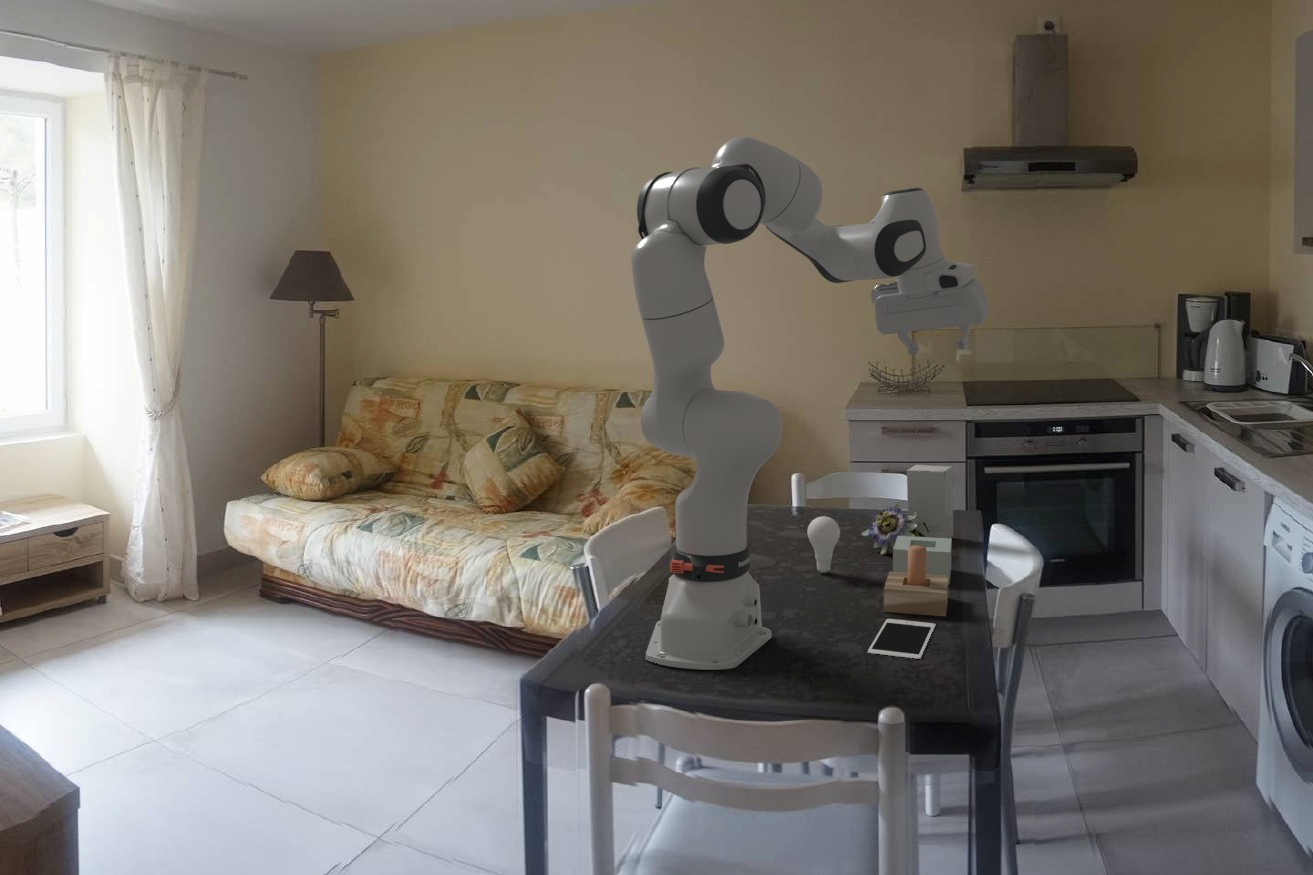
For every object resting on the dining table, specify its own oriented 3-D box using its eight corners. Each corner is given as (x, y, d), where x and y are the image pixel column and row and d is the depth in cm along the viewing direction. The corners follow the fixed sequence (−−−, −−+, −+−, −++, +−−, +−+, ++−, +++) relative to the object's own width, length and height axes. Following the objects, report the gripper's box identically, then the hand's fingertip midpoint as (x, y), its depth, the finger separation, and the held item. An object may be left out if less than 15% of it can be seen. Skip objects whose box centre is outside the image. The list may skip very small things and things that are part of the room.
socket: (949, 584, 179) (950, 552, 178) (892, 580, 183) (893, 549, 182) (951, 569, 189) (951, 538, 188) (897, 565, 192) (897, 535, 191)
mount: (945, 616, 163) (946, 592, 162) (883, 611, 166) (883, 588, 165) (947, 597, 172) (948, 575, 171) (888, 593, 175) (889, 571, 174)
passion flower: (884, 580, 201) (849, 532, 202) (904, 558, 209) (870, 511, 210) (927, 557, 194) (891, 507, 195) (945, 535, 202) (910, 487, 203)
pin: (925, 608, 167) (925, 550, 165) (906, 606, 168) (907, 549, 166) (925, 602, 170) (926, 545, 168) (907, 601, 171) (908, 544, 169)
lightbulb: (839, 578, 185) (839, 520, 183) (806, 577, 186) (806, 520, 184) (840, 569, 191) (840, 513, 189) (808, 568, 192) (808, 512, 190)
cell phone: (936, 627, 159) (936, 623, 159) (920, 662, 144) (920, 658, 144) (886, 621, 162) (886, 618, 162) (866, 655, 147) (866, 651, 147)
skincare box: (953, 537, 212) (955, 466, 209) (944, 545, 206) (946, 471, 204) (915, 533, 216) (916, 463, 214) (905, 540, 210) (906, 468, 208)
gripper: (861, 291, 179) (878, 362, 184) (971, 275, 166) (987, 352, 171) (875, 280, 184) (892, 349, 188) (984, 264, 171) (999, 339, 175)
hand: (938, 350), depth 179 cm, fingers open, 8 cm apart
